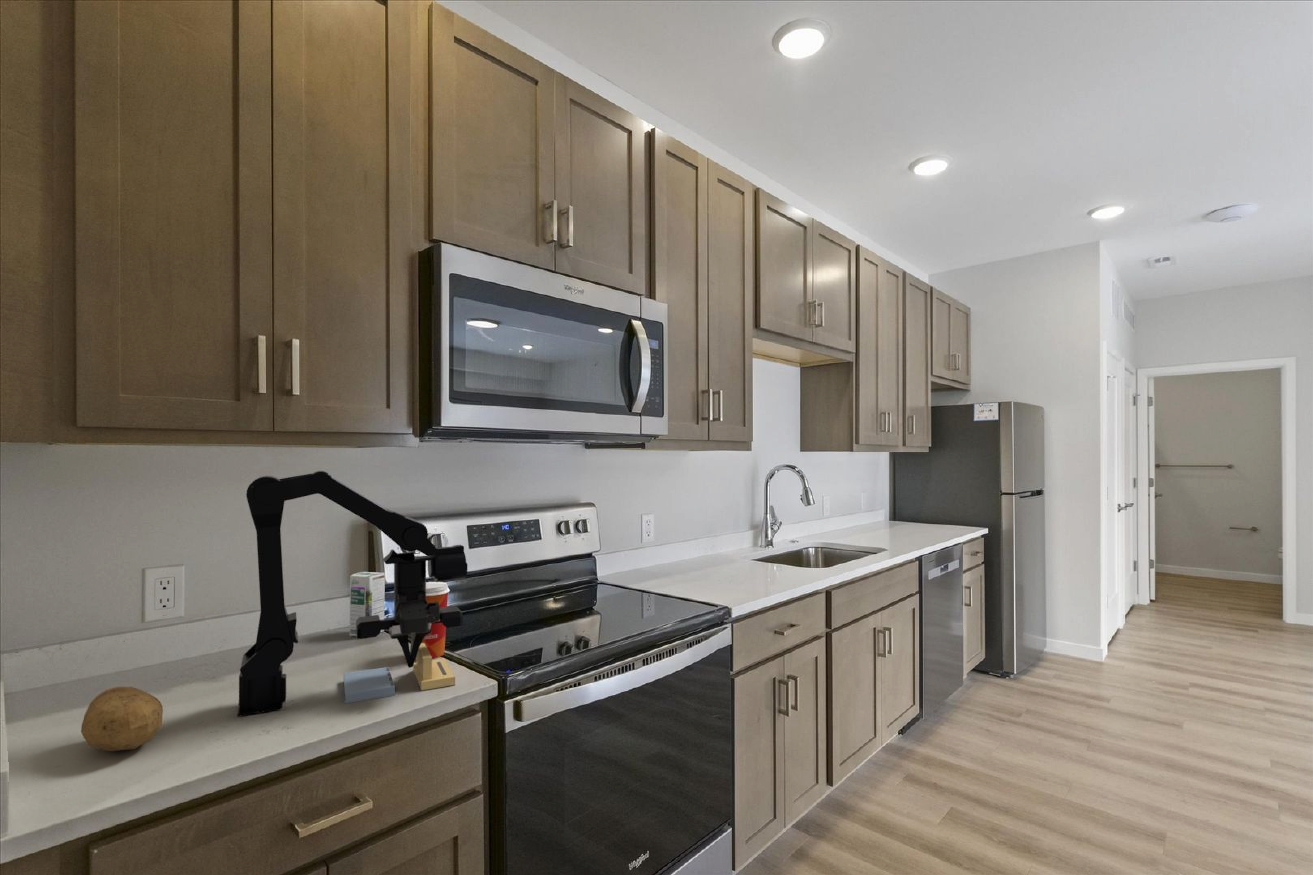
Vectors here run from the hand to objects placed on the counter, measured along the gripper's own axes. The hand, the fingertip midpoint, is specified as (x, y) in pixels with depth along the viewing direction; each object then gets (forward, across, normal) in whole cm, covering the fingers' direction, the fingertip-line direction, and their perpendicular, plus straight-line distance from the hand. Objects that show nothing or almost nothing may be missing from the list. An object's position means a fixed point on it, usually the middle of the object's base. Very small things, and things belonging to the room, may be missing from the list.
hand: (410, 666), depth 124 cm
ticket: (+3, -7, 0) cm, 8 cm away
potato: (+3, -41, -9) cm, 42 cm away
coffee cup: (+3, +6, +15) cm, 16 cm away
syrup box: (+3, -5, +39) cm, 39 cm away
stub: (+3, +4, 0) cm, 5 cm away
